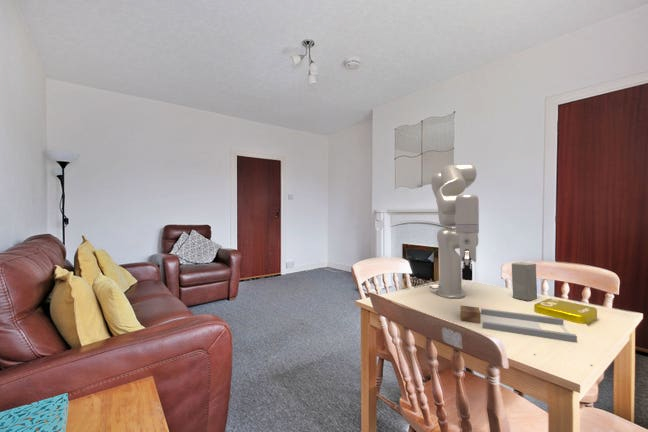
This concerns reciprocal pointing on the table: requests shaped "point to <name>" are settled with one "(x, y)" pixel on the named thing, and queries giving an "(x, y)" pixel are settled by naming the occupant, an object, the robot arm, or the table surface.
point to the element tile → (567, 311)
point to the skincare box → (524, 281)
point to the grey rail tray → (524, 324)
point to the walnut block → (470, 314)
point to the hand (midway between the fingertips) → (467, 276)
